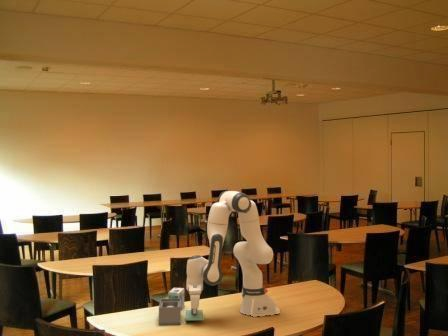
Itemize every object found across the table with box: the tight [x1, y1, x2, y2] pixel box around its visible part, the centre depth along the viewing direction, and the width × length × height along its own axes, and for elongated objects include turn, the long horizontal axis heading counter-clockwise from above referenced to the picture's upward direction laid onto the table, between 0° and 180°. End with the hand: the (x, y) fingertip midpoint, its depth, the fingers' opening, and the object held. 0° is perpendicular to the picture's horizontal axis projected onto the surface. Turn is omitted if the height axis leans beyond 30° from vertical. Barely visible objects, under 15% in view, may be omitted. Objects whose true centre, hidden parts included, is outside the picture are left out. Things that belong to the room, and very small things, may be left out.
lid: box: [185, 308, 204, 321], centre depth 243 cm, size 9×13×5 cm
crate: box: [158, 298, 182, 326], centre depth 243 cm, size 11×15×9 cm
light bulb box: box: [167, 287, 185, 310], centre depth 262 cm, size 11×7×11 cm, turn 168°
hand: (194, 312), depth 243 cm, fingers closed on lid, 3 cm apart
